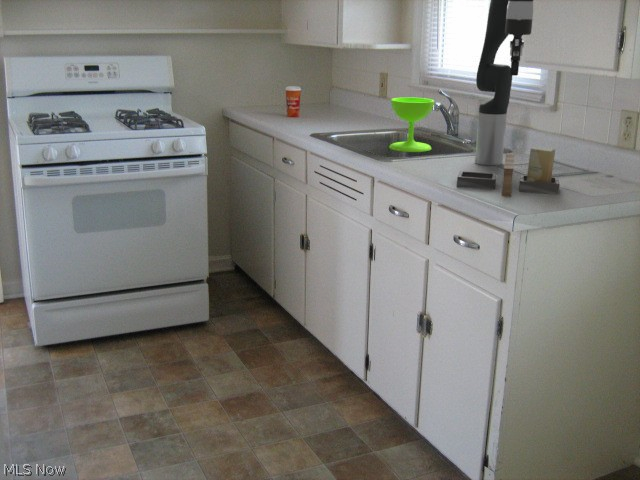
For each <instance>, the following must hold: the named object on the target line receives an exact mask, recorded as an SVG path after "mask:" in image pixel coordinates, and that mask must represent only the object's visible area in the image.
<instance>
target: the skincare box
mask: <svg viewBox="0 0 640 480" xmlns="http://www.w3.org/2000/svg"><path fill="white" fill-rule="evenodd" d="M555 153H556V149H555V148H551V147H549V148H548V147H542V146H534V147H530V151H529V158H528V166H527V181H533V182H548V183H551V178H552V177H553V170H554V162H555V156H556V154H555Z"/></svg>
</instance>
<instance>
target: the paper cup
mask: <svg viewBox="0 0 640 480" xmlns="http://www.w3.org/2000/svg"><path fill="white" fill-rule="evenodd" d="M284 90H285V98H286V99H285V100H286V101H285V102H286V116H287V117H288V118H298V117H299V116H300V105H301V91H302V89H301V87H300V86H297V85H295V86H294V85H292V86H291V85H290V86H286V87H285V89H284Z"/></svg>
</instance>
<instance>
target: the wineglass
mask: <svg viewBox="0 0 640 480" xmlns="http://www.w3.org/2000/svg"><path fill="white" fill-rule="evenodd" d="M390 103H391V107H392V110H393V112H394V113H395V114H396V116H397V117H399V118H400V119H401V120H404V121H406V122H408V134H407V135H408V136H407V139H406V140H405V141H397V142H393V143H391V144H390V145H389V147H388V148H389V149H390V150H394V151H398V152H404V153H406V152H407V153H422V152H427V151H429V152H430V151H431V150H432V146H431V145H430V144H428V143H424V142H420V141H415V139H414V133H415V132H414V131H415V130H414V129H415V123H416V122H419V121H422V120H423V119H425V118H427V116H428V115H429V114H430V113H431V112H432V110H433V108H434V104H435V100H434V99H432V98H431V99H430V98H424V97H393V98H391V100H390Z"/></svg>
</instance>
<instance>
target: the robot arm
mask: <svg viewBox="0 0 640 480" xmlns="http://www.w3.org/2000/svg"><path fill="white" fill-rule="evenodd" d="M533 18H534V0H490V2H489V6H488V14H487V20H486V22H487V23H486V30H485V35H484V43H483V46H482V51H481V54H480V58H479V63H478V65H477V72H476V78H475V79H476V87H477V89H478V90H479V91H481V92H485V93H494V96H493V98H492V99H491V100H488V101H485V102H482V103H480V104H479V109H478V117H477V118H478V119H477V120H478V121H477V131H476V132H477V133H476V143H475V145H476V147H475V154H474V155H475V156H474V157H475V158H474V163H476V164H477V165H482V166H483V165H484V166H500V165H502V164H503V158H504V147H505V137H506V128H507V127H506V126H507V125H506V124H507V115H508V108H509V104H510V97H511V90H512V85H513V84H512V83H513V76H518V75H519V70H520V69H519V68H520V62H521V58H522V55H523V48H524V46H525V41H524V40H523V38H522V36H530V35H532V29H533V20H534V19H533ZM509 35H511V36H512V37H513V39H512V40H510V42H509V48H510V50H509V56H510V62H511V63H510V65H509V64H504V63H503V64H500V63H498V64H497V63H495V60H496V56H497V53H498V50H499V48H500V47H501V45H502V44H503V43H504V42H505V40H506V39H507V38H508V36H509Z"/></svg>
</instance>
